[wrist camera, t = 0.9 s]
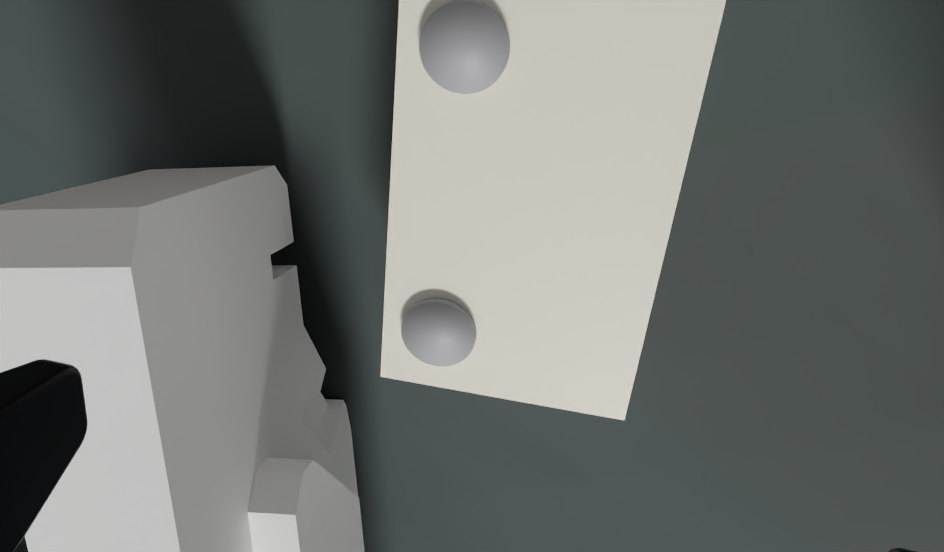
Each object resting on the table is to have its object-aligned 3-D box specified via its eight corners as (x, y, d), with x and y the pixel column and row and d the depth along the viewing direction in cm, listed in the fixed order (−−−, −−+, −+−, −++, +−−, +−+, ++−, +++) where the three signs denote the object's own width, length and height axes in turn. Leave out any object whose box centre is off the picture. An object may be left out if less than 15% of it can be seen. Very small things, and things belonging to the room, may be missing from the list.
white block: (704, -38, 16) (730, -11, 12) (622, 326, 20) (624, 426, 17) (446, -69, 17) (398, -52, 13) (419, 292, 21) (377, 382, 17)
